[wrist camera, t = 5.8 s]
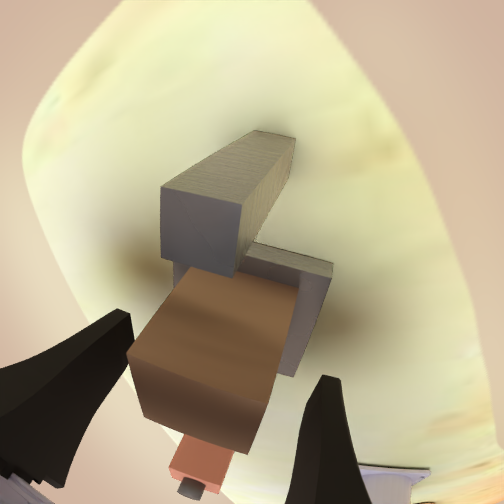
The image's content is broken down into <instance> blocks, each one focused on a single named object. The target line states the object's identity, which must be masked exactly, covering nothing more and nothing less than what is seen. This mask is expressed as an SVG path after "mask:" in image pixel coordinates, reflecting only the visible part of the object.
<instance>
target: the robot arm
mask: <svg viewBox="0 0 504 504" xmlns="http://www.w3.org/2000/svg"><path fill="white" fill-rule="evenodd" d="M134 342H135V339H134V333H133V328H132V322H131V316H130V313H127V312H125V311H123V310H120V309H118V308H117V309H115V310H114V311H112V312H110V313H108V314H107V315H105V316H104V317H102V318H100V319H99V320H97V321H96V322H94V323H92V324H91V325H89V326H88V327H86V328H84V329H83V330H81V331H80V332H78V333H76V334H75V335H73V336H71V337H70V338H68V339H66V340H65V341H63V342H61V343H59V344H57V345H55V346H53V347H52V348H50V349H48V350H46V351H44V352H42V353H40V354H38V355H36V356H33V357H31V358H29V359H26V360H24V361H21V362H18V363H15V364H13V365H10V366H7V367H4V368H0V504H55V503H53V502H52V501H50V500H49V499H48V498H46V497H45V496H44V495H42V494H41V493H40V492H38V491H37V490H35V489H34V488H33V487H32V486H30V483H31V482H32V480H34V481H35V482H36V483H38V484H41V482H42V480H44V481H46V482H47V483H49V484H50V485H52V486H53V487H55V488H63V487H64V485H65V481H66V478H67V475H68V472H69V469H70V466H71V464H72V461H73V458H74V456H75V453H76V451H77V449H78V446H79V444H80V442H81V440H82V437H83V435H84V433H85V431H86V429H87V427H88V425H89V423H90V421H91V419H92V418H93V416H94V414H95V413H96V411H97V409H98V408H99V407H100V405H101V403H102V402H103V401H104V399H105V397H106V396H107V395H108V394H109V392H110V391H111V389H112V388H113V386H114V385H115V384H116V382H117V381H118V379H119V378H120V376H121V375H122V374H123V372H124V371H125V369H126V367H127V365H128V363H129V362H128V358H127V354H126V353H127V351H128V350H129V348H130V347H131V346H132V344H133V343H134ZM430 474H431V471H430V470H412V469H394V468H382V467H371V466H363V465H358V462H357V459H356V455H355V452H354V448H353V444H352V440H351V436H350V431H349V427H348V422H347V417H346V412H345V406H344V400H343V394H342V386H341V380H340V379H339V378H335V377H331V376H327V375H322V376H321V378H320V380H319V382H318V384H317V385H316V387H315V389H314V391H313V393H312V395H311V396H310V398H309V400H308V402H307V403H306V407H305V411H304V414H303V418H302V422H301V426H300V430H299V437H298V443H297V449H296V456H295V462H294V468H293V473H292V479H291V484H290V488H289V492H288V495H287V498H286V501H285V504H411V487H412V486H413V485H414V484H416V483H418V482H419V481H421V480H423V479H425V478H426V477H428V476H429V475H430Z"/></svg>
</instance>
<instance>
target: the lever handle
mask: <svg viewBox="0 0 504 504" xmlns="http://www.w3.org/2000/svg"><path fill="white" fill-rule="evenodd" d="M233 454H234V451H233V450H230V449H226V448H223V447H220V446H217V445H214V444H211V443H208V442H205V441H203V440H200V439H197V438H194V437H191V436H189V435H186V434H184V436H183V438H182V440H181V442H180V444H179V446H178V448H177V451H176V453H175V455H174V457H173V459H172V461H171V463H170V465H169V470H170V473H171V476H172V478H174V479H176V480H179V481H181V484H180V487H179V489H178V491H177V492H178V493H179V494H181V495H183V496H185V497H188V498H190V499H194V500H200V499H201V496H202V494H203V491H204V490H207V491H210V492H213V493H216V494H219V491H220V489H221V486H222V483H223V481H224V478H225V475H226V473H227V470H228V467H229V465H230V462H231V459H232V456H233Z"/></svg>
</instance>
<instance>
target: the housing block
mask: <svg viewBox="0 0 504 504" xmlns="http://www.w3.org/2000/svg"><path fill="white" fill-rule="evenodd" d="M298 290H299V288H297V287H293V286H289V285H286V284H282V283H278V282H275V281H271V280H267V279H264V278H260V277H256V276H253V275H249V274H245V273H242V272H238V271H236V273H235V275H234V277H233V278H228V277H225V276H221V275H218V274H214V273H211V272H208V271H204V270H201V269H197V268H194V267H190V268H189V270H188V271H187V272H186V274H185V275H184V276H183V277H182V279H181V280H180V281H179V283H178V284H177V285H176V287H175V288H174V289H173V291H172V292H171V293H170V294H169V296H168V297H167V298H166V300H165V301H164V302H163V304H162V305H161V306H160V308H159V309H158V310H157V312H156V313H155V314H154V316H153V317H152V318H151V320H150V321H149V323H148V324H147V325H146V327H145V328H144V329H143V331H142V332H141V333H140V335H139V336H138V337H137V339H136V340H135V342H134V343H133V344H132V346H131V347H130V348H129V350H128V351H127V353H126V354H127V358H128V362H129V366H130V370H131V374H132V378H133V381H134V385H135V389H136V392H137V396H138V399H139V402H140V405H141V409H142V412H143V415H144V417H145V418H147V419H150V420H152V421H154V422H156V423H159V424H161V425H164V426H166V427H168V428H171V429H173V430H176V431H178V432H181V433H184V434H186V435H189V436H191V437H194V438H197V439H200V440H203V441H205V442H208V443H211V444H214V445H217V446H220V447H223V448H226V449H230V450H233V451H236V452H240V453H243V454H247V455H248V453H249V450H250V448H251V445H252V443H253V441H254V438H255V436H256V433H257V431H258V428H259V426H260V423H261V421H262V418H263V415H264V413H265V410H266V408H267V405H268V402H269V399H270V395H271V392H272V388H273V385H274V381H275V378H276V374H277V371H278V367H279V364H280V360H281V356H282V353H283V349H284V345H285V341H286V338H287V334H288V330H289V326H290V322H291V318H292V314H293V311H294V307H295V303H296V299H297V294H298Z"/></svg>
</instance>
